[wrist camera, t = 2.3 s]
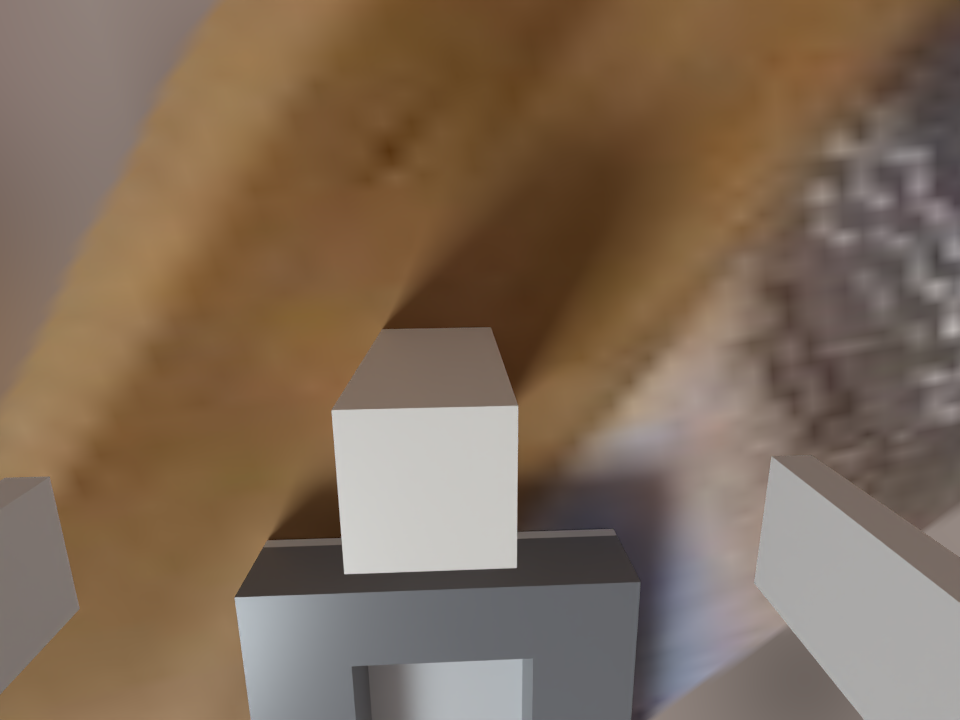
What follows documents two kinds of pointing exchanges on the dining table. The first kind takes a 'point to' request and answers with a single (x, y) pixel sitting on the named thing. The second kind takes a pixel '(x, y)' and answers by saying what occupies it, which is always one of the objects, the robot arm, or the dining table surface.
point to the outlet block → (442, 635)
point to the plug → (428, 455)
